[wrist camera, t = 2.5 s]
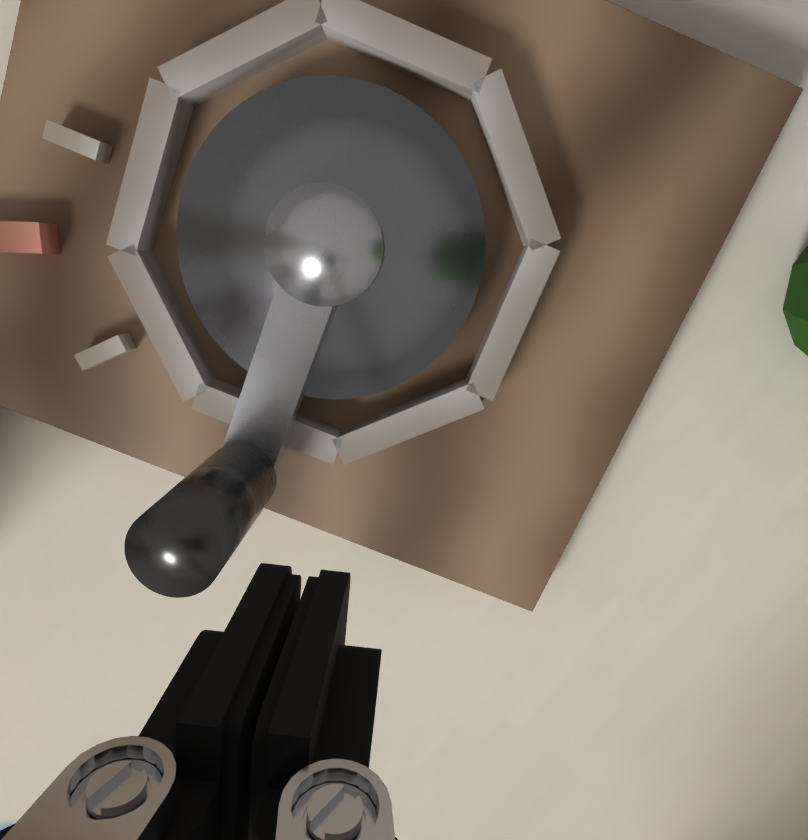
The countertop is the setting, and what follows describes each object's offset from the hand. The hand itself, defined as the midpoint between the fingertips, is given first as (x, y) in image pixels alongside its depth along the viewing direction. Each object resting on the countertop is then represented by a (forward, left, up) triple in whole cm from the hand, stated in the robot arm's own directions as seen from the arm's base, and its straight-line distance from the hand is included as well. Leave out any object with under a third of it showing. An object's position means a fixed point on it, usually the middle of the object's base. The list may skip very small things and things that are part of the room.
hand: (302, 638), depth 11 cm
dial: (+4, -4, -12) cm, 13 cm away
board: (+4, -6, -13) cm, 15 cm away
